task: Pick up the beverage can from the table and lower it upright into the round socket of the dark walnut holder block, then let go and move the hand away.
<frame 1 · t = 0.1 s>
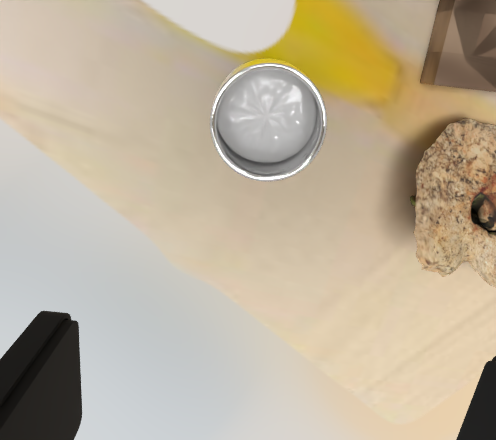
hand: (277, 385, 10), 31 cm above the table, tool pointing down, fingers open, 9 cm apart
beer glass: (262, 99, 38), on the table
holed granite stone: (471, 191, 41), on the table
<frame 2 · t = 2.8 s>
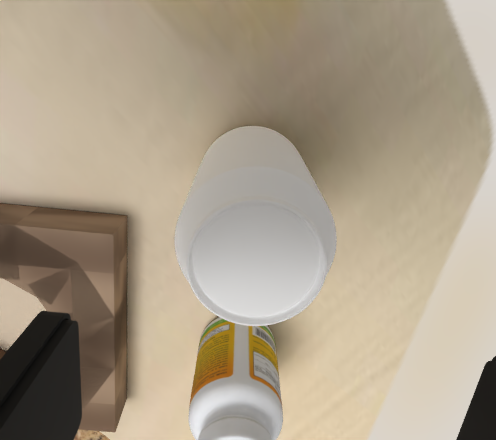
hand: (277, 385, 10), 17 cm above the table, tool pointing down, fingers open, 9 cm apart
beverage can: (251, 173, 26), on the table
can holder: (16, 306, 29), on the table
supplement bottle: (237, 341, 30), on the table
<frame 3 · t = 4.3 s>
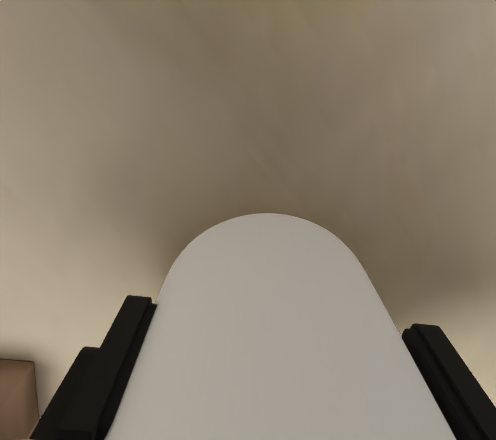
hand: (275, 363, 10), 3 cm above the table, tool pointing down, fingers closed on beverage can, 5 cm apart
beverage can: (264, 291, 14), on the table, touching gripper
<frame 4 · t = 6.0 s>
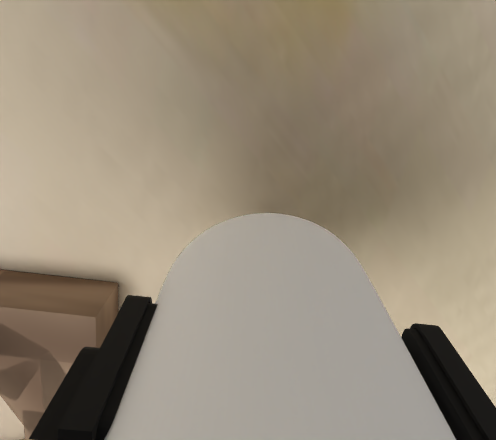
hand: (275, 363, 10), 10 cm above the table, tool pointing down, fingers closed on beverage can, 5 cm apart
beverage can: (264, 291, 14), point 6 cm above the table, touching gripper
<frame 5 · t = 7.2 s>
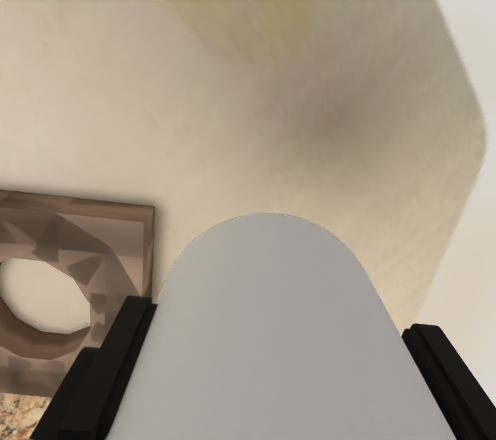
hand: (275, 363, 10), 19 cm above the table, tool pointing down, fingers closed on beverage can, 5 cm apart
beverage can: (264, 291, 14), point 16 cm above the table, touching gripper
can holder: (51, 289, 32), on the table
holed granite stone: (85, 427, 37), on the table
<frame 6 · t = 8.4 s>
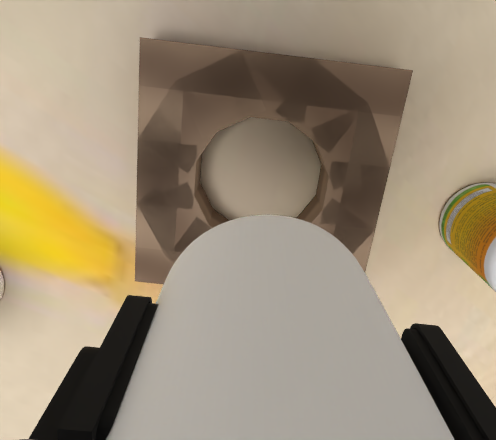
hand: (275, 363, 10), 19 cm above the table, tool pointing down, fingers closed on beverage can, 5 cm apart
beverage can: (264, 292, 14), point 16 cm above the table, touching gripper
can holder: (260, 173, 29), on the table
supplement bottle: (474, 217, 30), on the table
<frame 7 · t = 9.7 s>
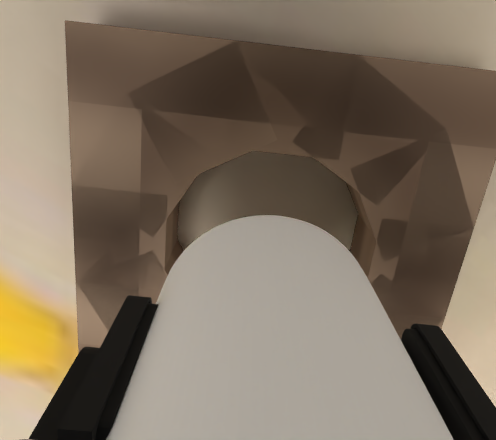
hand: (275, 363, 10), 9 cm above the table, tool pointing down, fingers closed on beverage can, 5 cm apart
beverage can: (264, 293, 14), point 6 cm above the table, touching gripper
can holder: (266, 226, 19), on the table
when the fingers open (4 cm above the table, at t = 11.4 s): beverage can stays where it is, resting in can holder.
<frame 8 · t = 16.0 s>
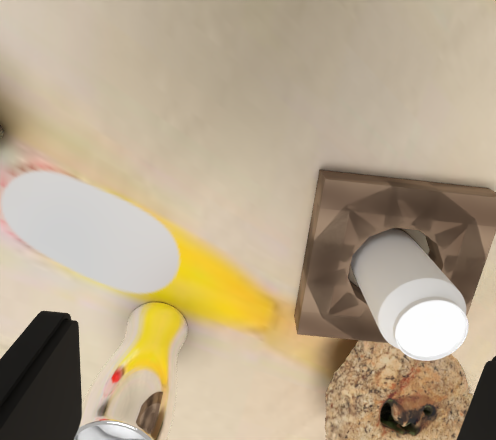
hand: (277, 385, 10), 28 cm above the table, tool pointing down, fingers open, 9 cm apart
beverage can: (380, 253, 40), resting in can holder
can holder: (385, 255, 40), on the table
beer glass: (158, 326, 43), on the table
holed granite stone: (390, 374, 45), on the table
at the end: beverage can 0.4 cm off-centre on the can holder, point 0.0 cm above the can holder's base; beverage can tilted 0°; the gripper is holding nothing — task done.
